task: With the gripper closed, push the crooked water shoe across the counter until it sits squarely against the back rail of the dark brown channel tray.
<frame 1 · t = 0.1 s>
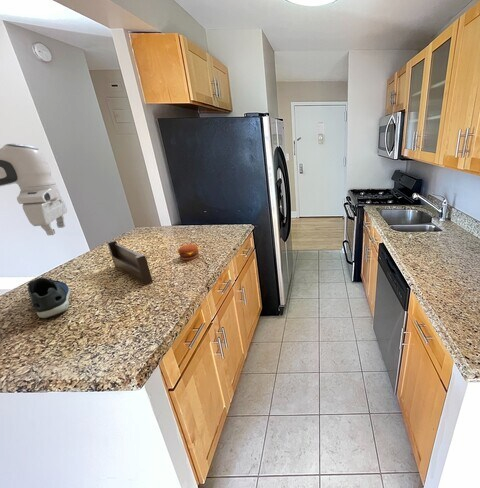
hand: (56, 230, 96), 27 cm above the countertop, tool pointing down, fingers open, 8 cm apart
water shoe: (55, 302, 100), on the countertop
dark brown channel tray: (131, 274, 120), on the countertop
hamburger: (190, 257, 138), on the countertop
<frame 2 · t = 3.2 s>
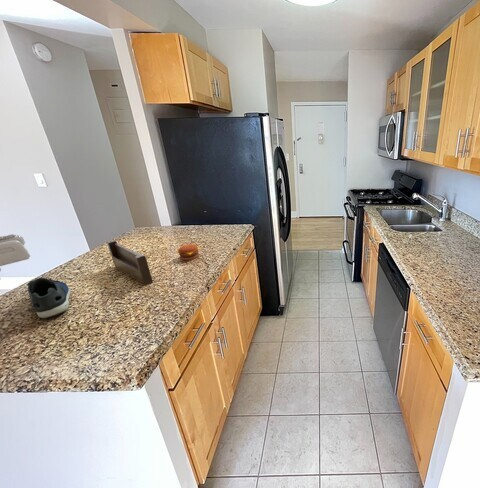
nothing on the countertop moved.
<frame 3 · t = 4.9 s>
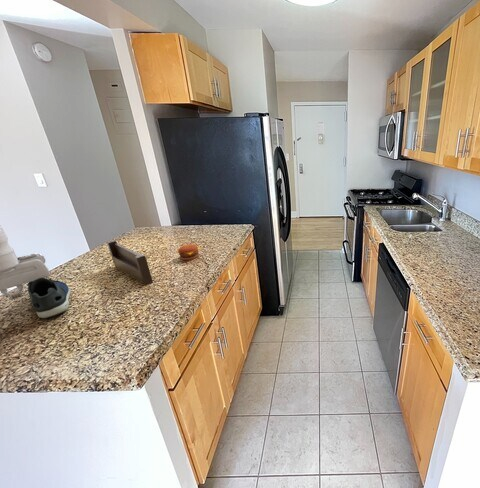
hand: (16, 297, 91), 6 cm above the countertop, tool pointing down, fingers closed
nothing on the countertop moved.
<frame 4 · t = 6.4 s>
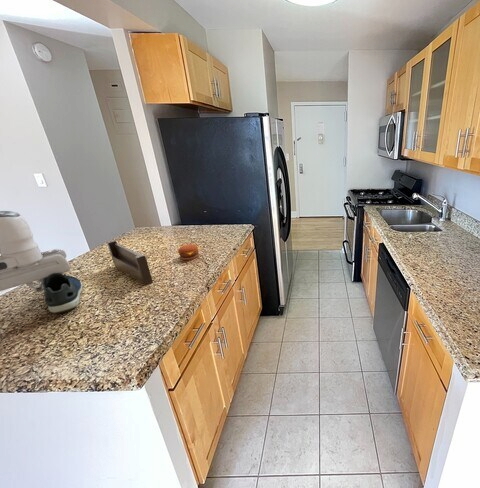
hand: (39, 290, 96), 6 cm above the countertop, tool pointing down, fingers closed
water shoe: (67, 297, 102), on the countertop, touching gripper
everything else where it was.
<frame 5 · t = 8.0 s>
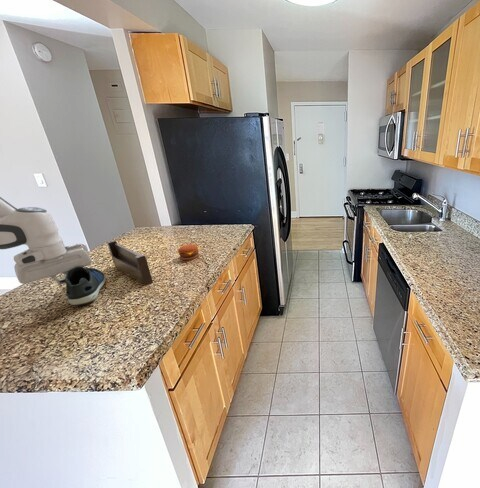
hand: (63, 283, 101), 6 cm above the countertop, tool pointing down, fingers closed
water shoe: (89, 290, 107), on the countertop, touching gripper
everything else where it was.
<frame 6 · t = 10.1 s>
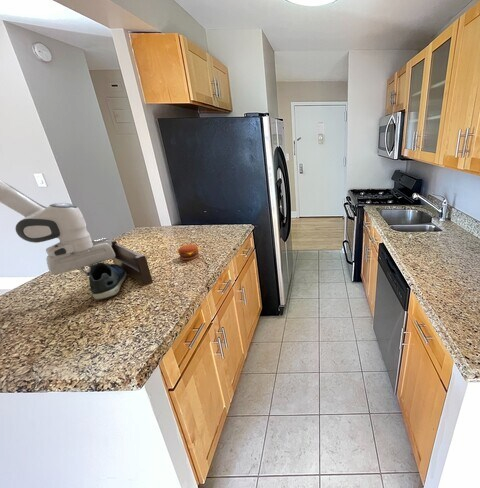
hand: (89, 275, 107), 6 cm above the countertop, tool pointing down, fingers closed
water shoe: (112, 284, 112), on the countertop, touching gripper, dark brown channel tray
everything else where it was.
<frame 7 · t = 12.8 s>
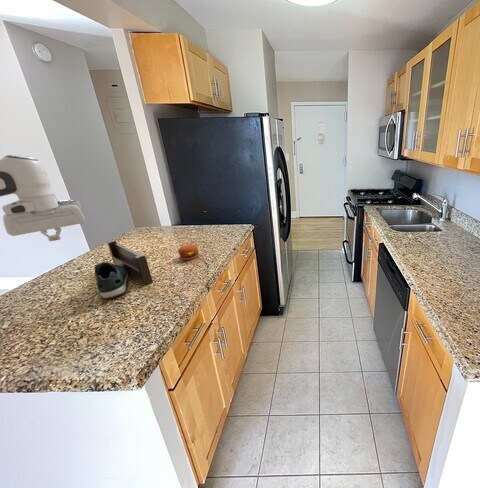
hand: (54, 240, 97), 23 cm above the countertop, tool pointing down, fingers closed
water shoe: (115, 284, 112), on the countertop
everything else where it was.
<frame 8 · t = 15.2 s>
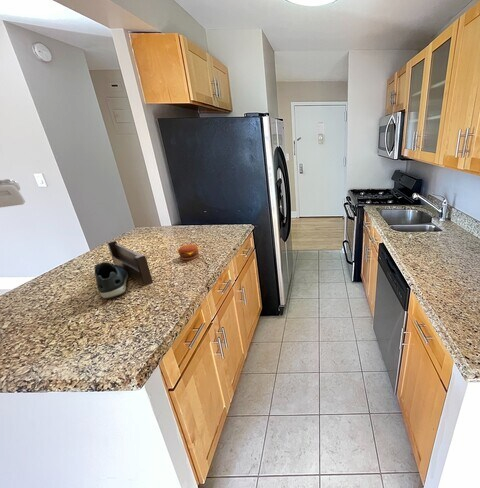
nothing on the countertop moved.
at the end: water shoe inside the target area on the countertop beside the dark brown channel tray (4.1 cm from its centre), on the countertop; water shoe tilted 0°; water shoe moved 18.8 cm from its start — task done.
